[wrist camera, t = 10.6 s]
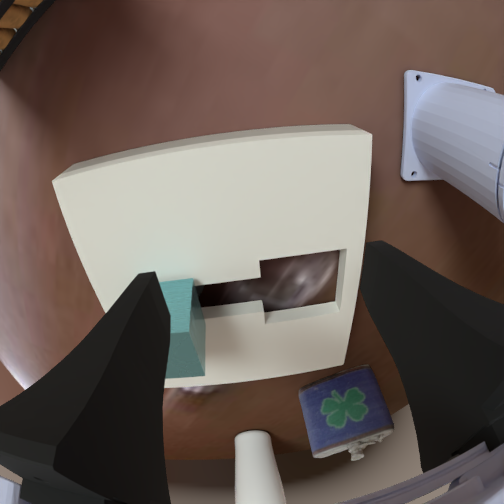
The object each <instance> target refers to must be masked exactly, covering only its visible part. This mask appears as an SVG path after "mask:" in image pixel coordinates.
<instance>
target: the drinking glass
mask: <svg viewBox="0 0 504 504" xmlns="http://www.w3.org/2000/svg"><path fill="white" fill-rule="evenodd" d="M235 459H236V460H235V504H286V499H285V494H284V490H283V487H282V483H281V479H280V476H279V472H278V468H277V464H276V460H275V456H274V452H273V448H272V443H271V437H270V435H269V433H267V432H265V431H261V430H250V431H245V432H242V433H240V434H238V435H237V436H236V437H235Z"/></svg>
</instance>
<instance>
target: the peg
mask: <svg viewBox="0 0 504 504" xmlns="http://www.w3.org/2000/svg"><path fill="white" fill-rule="evenodd" d="M159 284H160V287H161V290H162V292H163V295H164V298H165V301H166V304H167V307H168V309H169V312H170V315H171V333H170V347H169V355H168V362H167V370H166V377H165V379H171V378H186V377H199V376H205V337H206V323H205V319H204V316H203V312H202V309H201V305H200V302H199V298H198V297H199V296H200V295H201V293H202V291H203V289H204V285H198V286H195V283H194V279H193V278H189V279H181V280H173V281H165V282H159Z"/></svg>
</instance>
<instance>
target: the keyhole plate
mask: <svg viewBox="0 0 504 504" xmlns="http://www.w3.org/2000/svg"><path fill="white" fill-rule="evenodd" d="M371 154H372V134H370V133H368V132H366V131H364V130H362V129H359V128H357V127H355V126H353V125H351V124H329V125H306V126H289V127H276V128H265V129H254V130H245V131H236V132H228V133H221V134H213V135H206V136H200V137H193V138H187V139H181V140H176V141H170V142H165V143H160V144H154V145H149V146H145V147H140V148H135V149H131V150H126V151H122V152H118V153H114V154H110V155H106V156H102V157H98V158H94V159H90V160H87V161H83V162H79V163H76V164H73V165H72V166H71V167H69V168H68V169H67V170H65V171H64V172H63V173H61V174H60V175H59V176H58V177H56V178H55V179H54V180H53V181H52V183H53V186H54V189H55V193H56V196H57V199H58V202H59V205H60V207H61V210H62V213H63V216H64V219H65V222H66V224H67V227H68V230H69V232H70V235H71V237H72V240H73V242H74V245H75V247H76V250H77V252H78V255H79V257H80V259H81V262H82V264H83V266H84V269H85V271H86V273H87V275H88V278H89V280H90V282H91V284H92V286H93V288H94V290H95V293H96V295H97V297H98V299H99V301H100V303H101V305H102V307H103V309H104V311H105V313H107V311H108V310H109V309H110V308H111V306H112V305H113V304H114V303H115V301H116V300H117V299H118V298H119V297H120V295H121V294H122V293H123V292H124V290H125V289H126V288H127V287H128V285H129V284H130V283H131V282H132V280H133V279H134V278H135V277H136V276H137V275H138V274H139V273H146V272H153V271H155V272H156V275H157V278H158V281H159V282H165V281H173V280H181V279H189V278H193V279H194V283H195V286H198V285H206V284H214V283H222V282H230V281H238V280H245V279H253V278H260V277H261V275H260V265H259V260H267V259H274V258H281V257H289V256H296V255H304V254H311V253H318V252H325V251H333V250H340V256H339V268H338V279H337V289H336V298H335V302H329V303H323V304H317V305H311V306H305V307H298V308H292V309H285V310H279V311H272V312H265V313H264V309H263V304H262V300H258V301H251V302H243V303H235V304H228V305H219V306H211V307H203V308H201V309H202V312H203V316H204V319H205V323H206V337H205V376H199V377H186V378H171V379H165V385H164V388H173V387H190V386H204V385H216V384H226V383H235V382H244V381H252V380H260V379H267V378H274V377H280V376H286V375H292V374H298V373H304V372H309V371H315V370H320V369H325V368H330V367H335V366H339V365H343V364H344V360H345V355H346V351H347V346H348V341H349V336H350V331H351V326H352V321H353V316H354V310H355V304H356V298H357V292H358V286H359V279H360V273H361V266H362V258H363V250H364V242H365V234H366V224H367V214H368V203H369V190H370V175H371Z"/></svg>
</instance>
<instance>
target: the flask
mask: <svg viewBox="0 0 504 504" xmlns="http://www.w3.org/2000/svg"><path fill="white" fill-rule="evenodd" d="M299 399H300V403H301V407H302V411H303V416H304V419H305V423H306V428H307V432H308V437H309V441H310V445H311V450H312V454H313V457H315V458H323V457H327V456H329V455H332V454H335V453H338V452H341V451H344V450H346V449H349V452H351V454H352V456H351V457H352V459H351V460H352V461H354V460H359V459H360V458H362V457H364V454H362V452H363V449H364V448H365V447H366V446H367V445H369V444H374V443H375V442H372V441H375V440H376V441H378V440H379V442H381V441H382V440H383V438H384V437H386V436H387V435H389V434H391V433H392V432H393V431H394V423H393V421H392V418H391V416H390V413H389V410H388V408H387V405H386V403H385V400H384V397H383V395H382V393H381V390H380V387H379V385H378V382H377V380H376V378H375V375H374V373H373V371H372V369H371V368H370V366H369V365H361V366H357V367H355V368H351V369H348V370H344V371H341V372H339V373H336V374H334V375H333V376H329V377H326V378H323V379H321V380H318V381H316V382H313V383H310V384H308V385H306V386H305V387H302V388H300V390H299Z"/></svg>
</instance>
